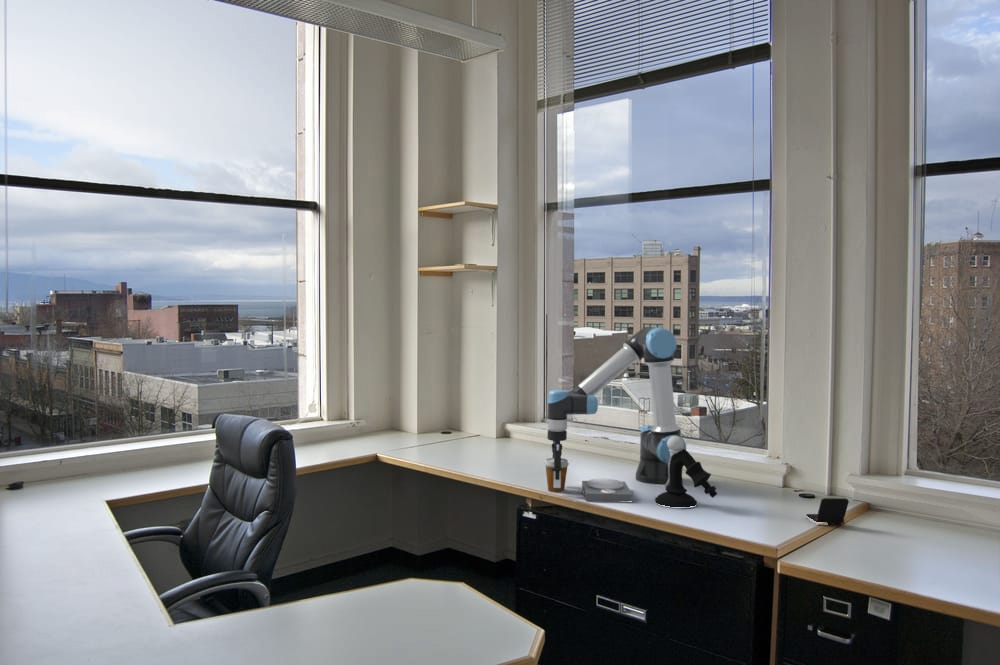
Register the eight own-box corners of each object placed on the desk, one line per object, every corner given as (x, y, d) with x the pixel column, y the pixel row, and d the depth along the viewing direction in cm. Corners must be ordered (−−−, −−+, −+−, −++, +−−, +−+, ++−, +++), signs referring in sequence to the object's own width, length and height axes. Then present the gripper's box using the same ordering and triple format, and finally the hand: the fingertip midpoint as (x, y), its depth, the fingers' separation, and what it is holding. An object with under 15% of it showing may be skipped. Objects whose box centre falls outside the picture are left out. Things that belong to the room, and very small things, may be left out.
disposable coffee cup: (548, 494, 289) (549, 463, 289) (540, 488, 298) (541, 458, 298) (571, 492, 292) (572, 462, 291) (563, 486, 301) (563, 457, 300)
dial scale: (624, 489, 299) (624, 479, 299) (632, 502, 279) (632, 491, 279) (581, 488, 299) (582, 478, 299) (586, 501, 279) (586, 490, 279)
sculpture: (667, 495, 289) (669, 431, 288) (725, 507, 273) (727, 439, 272) (647, 503, 278) (648, 436, 277) (706, 516, 262) (708, 445, 261)
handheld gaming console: (831, 518, 262) (832, 489, 262) (849, 528, 250) (850, 499, 250) (805, 518, 262) (806, 489, 261) (821, 528, 250) (822, 498, 249)
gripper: (546, 424, 307) (545, 475, 307) (548, 435, 282) (547, 491, 283) (565, 424, 306) (564, 476, 307) (568, 435, 282) (567, 491, 282)
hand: (556, 483), depth 295 cm, fingers open, 13 cm apart
